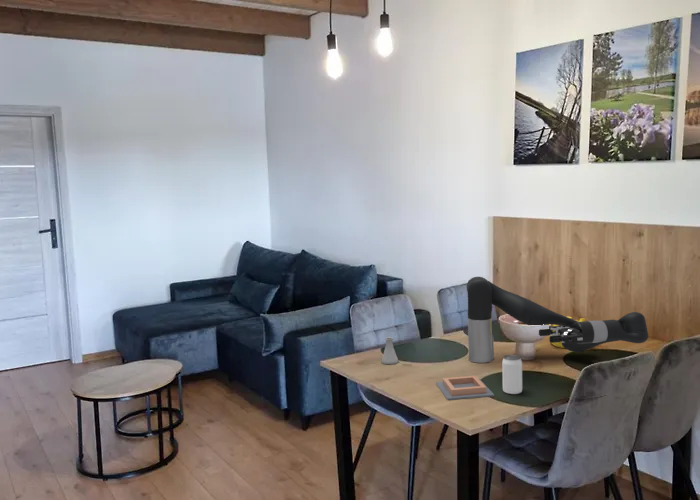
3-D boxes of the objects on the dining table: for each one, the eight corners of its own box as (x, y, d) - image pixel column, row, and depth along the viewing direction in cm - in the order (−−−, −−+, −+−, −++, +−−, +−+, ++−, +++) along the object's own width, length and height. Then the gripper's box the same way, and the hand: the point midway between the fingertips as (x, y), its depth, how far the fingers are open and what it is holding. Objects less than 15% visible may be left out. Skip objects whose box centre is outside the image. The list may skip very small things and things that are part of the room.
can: (500, 388, 210) (499, 355, 209) (518, 387, 211) (517, 353, 209) (506, 395, 204) (505, 360, 202) (525, 393, 204) (524, 359, 203)
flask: (397, 365, 241) (396, 340, 240) (379, 364, 242) (378, 340, 241) (399, 359, 248) (399, 335, 247) (382, 359, 250) (381, 335, 248)
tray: (479, 380, 219) (479, 373, 219) (494, 396, 203) (493, 388, 203) (436, 383, 218) (435, 376, 217) (447, 400, 202) (447, 392, 202)
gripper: (600, 348, 201) (553, 352, 199) (580, 337, 215) (536, 341, 213) (600, 326, 200) (553, 330, 198) (579, 316, 214) (535, 320, 212)
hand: (544, 336), depth 206 cm, fingers open, 8 cm apart
